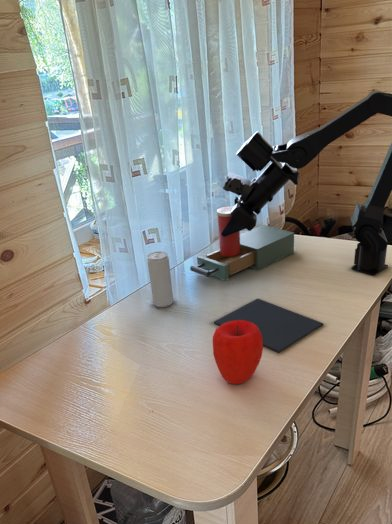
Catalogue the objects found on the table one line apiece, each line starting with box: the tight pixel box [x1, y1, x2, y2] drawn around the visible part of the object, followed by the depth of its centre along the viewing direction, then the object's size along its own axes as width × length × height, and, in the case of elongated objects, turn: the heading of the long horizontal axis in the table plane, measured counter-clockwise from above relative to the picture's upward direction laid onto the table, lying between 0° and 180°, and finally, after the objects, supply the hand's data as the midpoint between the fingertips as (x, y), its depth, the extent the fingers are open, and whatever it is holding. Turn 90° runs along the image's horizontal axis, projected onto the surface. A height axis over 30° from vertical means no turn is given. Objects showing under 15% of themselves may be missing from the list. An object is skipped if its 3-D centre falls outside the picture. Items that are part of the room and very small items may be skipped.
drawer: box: [189, 247, 255, 281], centre depth 131 cm, size 18×10×4 cm, turn 132°
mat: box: [213, 298, 324, 354], centre depth 108 cm, size 18×14×1 cm
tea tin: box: [216, 206, 241, 256], centre depth 128 cm, size 5×5×11 cm
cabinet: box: [240, 224, 295, 271], centre depth 138 cm, size 15×11×6 cm
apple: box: [212, 320, 264, 385], centre depth 90 cm, size 9×9×11 cm
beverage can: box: [146, 250, 174, 308], centre depth 117 cm, size 5×5×12 cm
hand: (223, 231), depth 128 cm, fingers closed on tea tin, 5 cm apart
